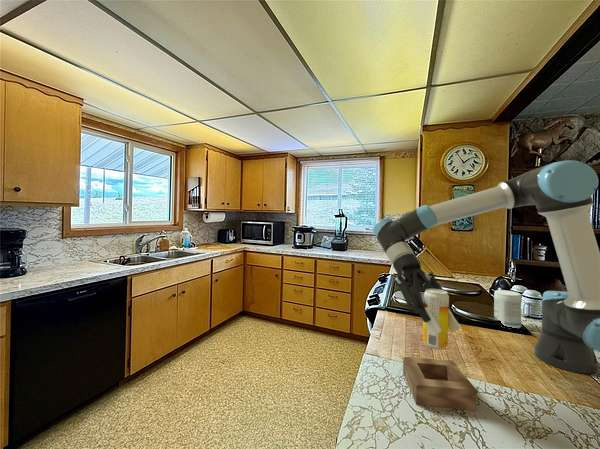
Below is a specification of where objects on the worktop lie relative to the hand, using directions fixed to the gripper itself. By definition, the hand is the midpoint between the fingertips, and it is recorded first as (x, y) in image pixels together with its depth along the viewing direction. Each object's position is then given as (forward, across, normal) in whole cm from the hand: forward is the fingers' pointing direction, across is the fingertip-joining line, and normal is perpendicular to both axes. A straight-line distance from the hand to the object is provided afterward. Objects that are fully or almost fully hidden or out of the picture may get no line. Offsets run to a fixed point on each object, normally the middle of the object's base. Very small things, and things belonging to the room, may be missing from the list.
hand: (447, 331), depth 70 cm
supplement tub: (-6, -69, -31) cm, 76 cm away
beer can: (+1, 0, -7) cm, 7 cm away
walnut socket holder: (+10, 0, -15) cm, 18 cm away
